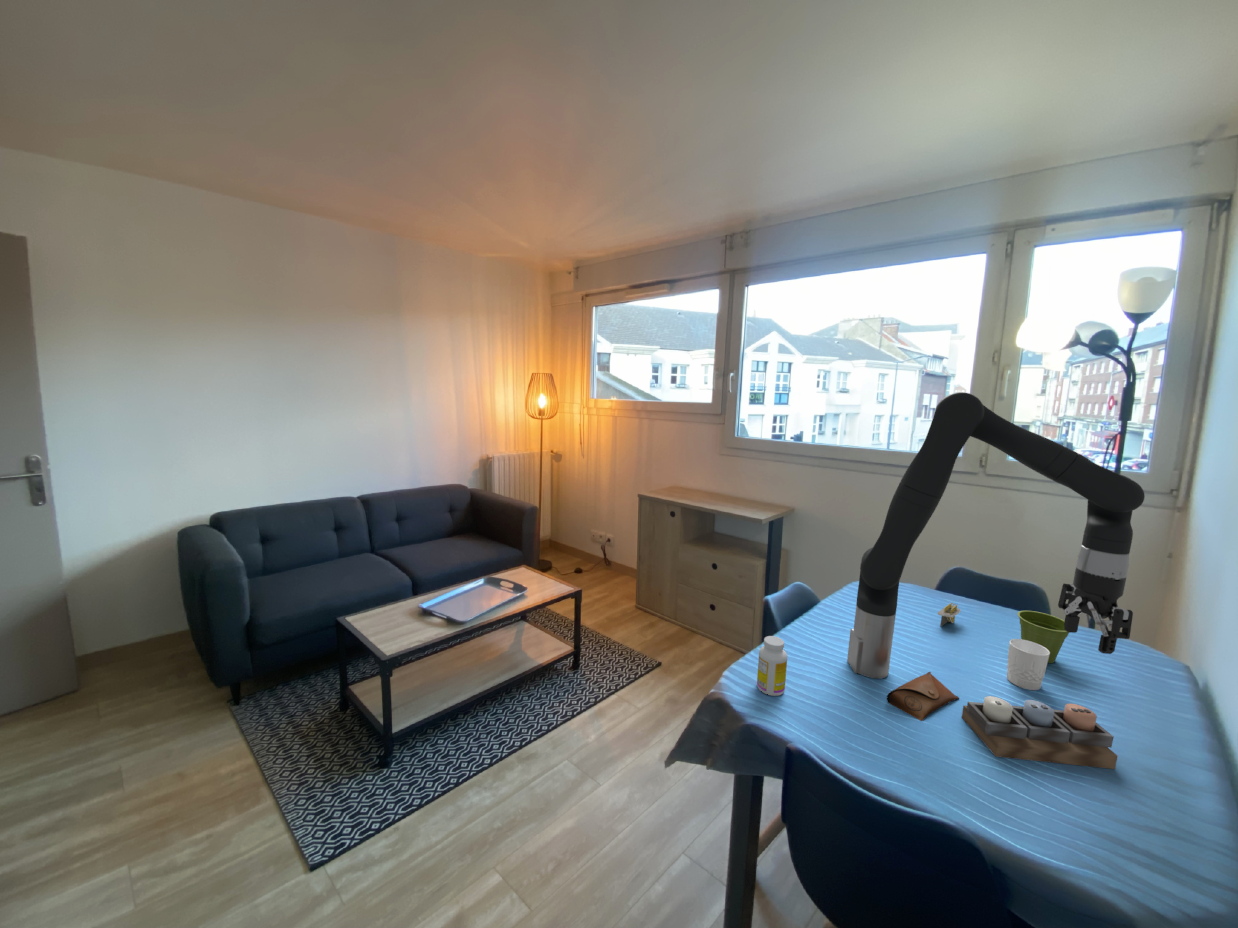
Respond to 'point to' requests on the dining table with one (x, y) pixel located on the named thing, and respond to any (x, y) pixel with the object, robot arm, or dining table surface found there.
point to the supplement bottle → (772, 666)
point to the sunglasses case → (921, 696)
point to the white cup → (1026, 663)
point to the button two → (1038, 713)
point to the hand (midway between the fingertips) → (1087, 641)
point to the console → (1041, 739)
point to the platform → (948, 613)
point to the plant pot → (1043, 631)
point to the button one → (997, 709)
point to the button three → (1079, 717)
